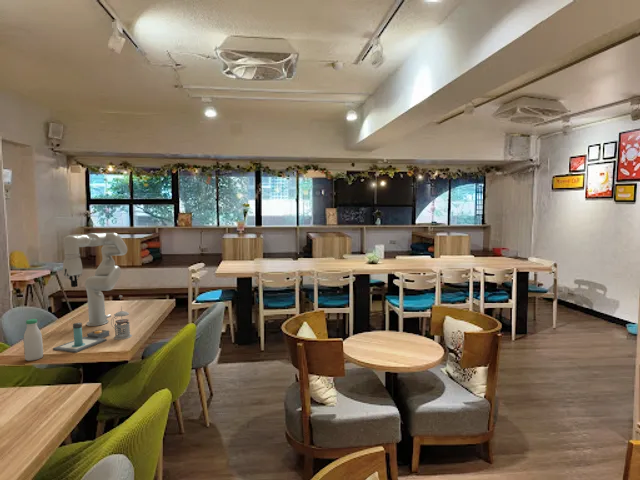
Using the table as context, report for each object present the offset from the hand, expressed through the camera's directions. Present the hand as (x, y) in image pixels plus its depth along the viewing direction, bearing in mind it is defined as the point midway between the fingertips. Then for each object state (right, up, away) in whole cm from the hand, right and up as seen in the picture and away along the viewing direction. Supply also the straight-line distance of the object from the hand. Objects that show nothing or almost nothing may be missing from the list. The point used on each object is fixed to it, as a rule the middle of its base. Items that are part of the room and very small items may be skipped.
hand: (74, 286), depth 244 cm
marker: (+16, -30, -23) cm, 41 cm away
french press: (+31, -29, -5) cm, 43 cm away
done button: (+18, -29, -5) cm, 34 cm away
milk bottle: (+3, -32, -38) cm, 50 cm away
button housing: (+18, -29, -5) cm, 35 cm away
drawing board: (+15, -30, -19) cm, 39 cm away
